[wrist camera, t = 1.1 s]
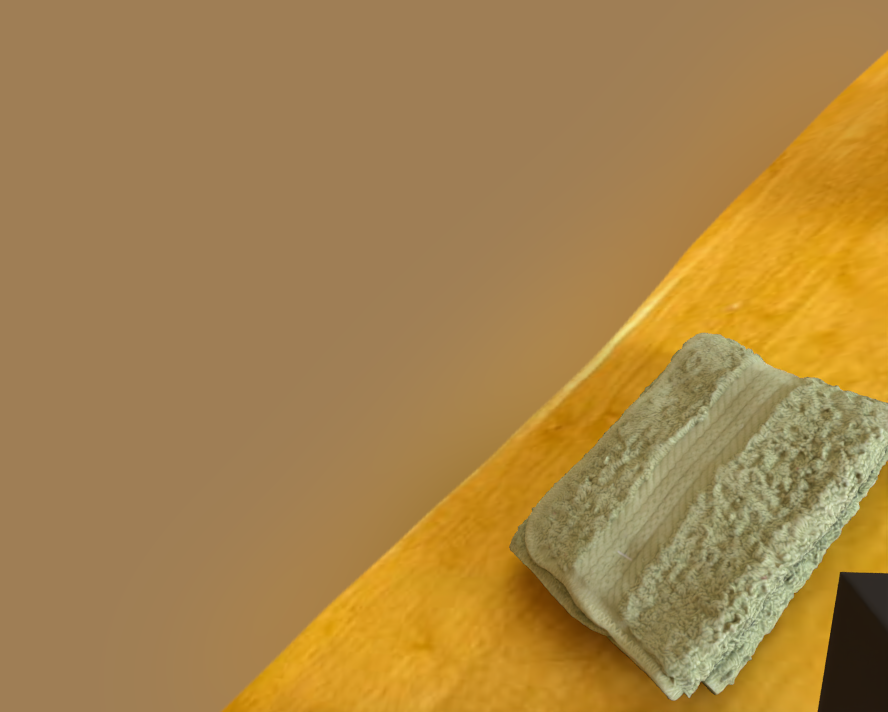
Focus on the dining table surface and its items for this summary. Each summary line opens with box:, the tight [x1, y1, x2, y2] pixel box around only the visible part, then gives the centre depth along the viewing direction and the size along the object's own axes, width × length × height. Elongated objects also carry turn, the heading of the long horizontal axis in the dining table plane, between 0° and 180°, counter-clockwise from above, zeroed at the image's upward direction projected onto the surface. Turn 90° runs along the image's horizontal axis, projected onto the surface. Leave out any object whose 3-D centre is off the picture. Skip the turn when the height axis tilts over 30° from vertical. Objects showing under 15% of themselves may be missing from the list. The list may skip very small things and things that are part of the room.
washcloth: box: [509, 333, 888, 701], centre depth 37 cm, size 13×18×3 cm
